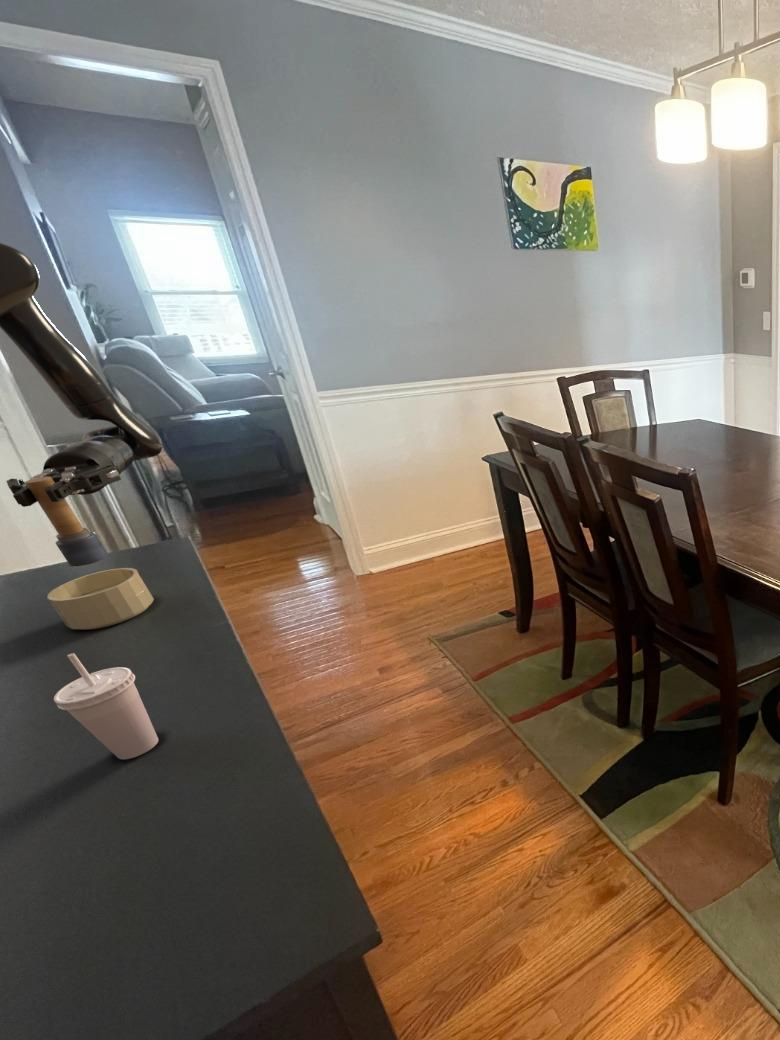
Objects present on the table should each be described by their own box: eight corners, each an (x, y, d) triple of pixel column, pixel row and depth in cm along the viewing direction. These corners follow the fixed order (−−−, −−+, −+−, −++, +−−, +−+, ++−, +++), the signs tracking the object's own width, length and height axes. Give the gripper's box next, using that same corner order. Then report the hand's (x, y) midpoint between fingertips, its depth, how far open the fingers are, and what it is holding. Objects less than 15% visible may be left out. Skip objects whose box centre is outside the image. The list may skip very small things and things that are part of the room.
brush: (62, 568, 96) (7, 486, 89) (83, 555, 99) (32, 476, 93) (95, 564, 96) (43, 482, 90) (115, 552, 100) (67, 473, 94)
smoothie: (103, 777, 67) (27, 679, 61) (99, 750, 71) (28, 655, 64) (176, 745, 71) (113, 650, 65) (169, 721, 75) (108, 629, 69)
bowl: (50, 636, 94) (27, 604, 91) (100, 602, 103) (81, 572, 101) (127, 626, 96) (107, 594, 93) (169, 594, 105) (152, 564, 102)
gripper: (19, 452, 99) (-45, 483, 85) (127, 439, 105) (83, 466, 91) (46, 494, 103) (-12, 530, 89) (149, 479, 108) (110, 511, 94)
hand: (37, 497), depth 90 cm, fingers closed on brush, 3 cm apart
